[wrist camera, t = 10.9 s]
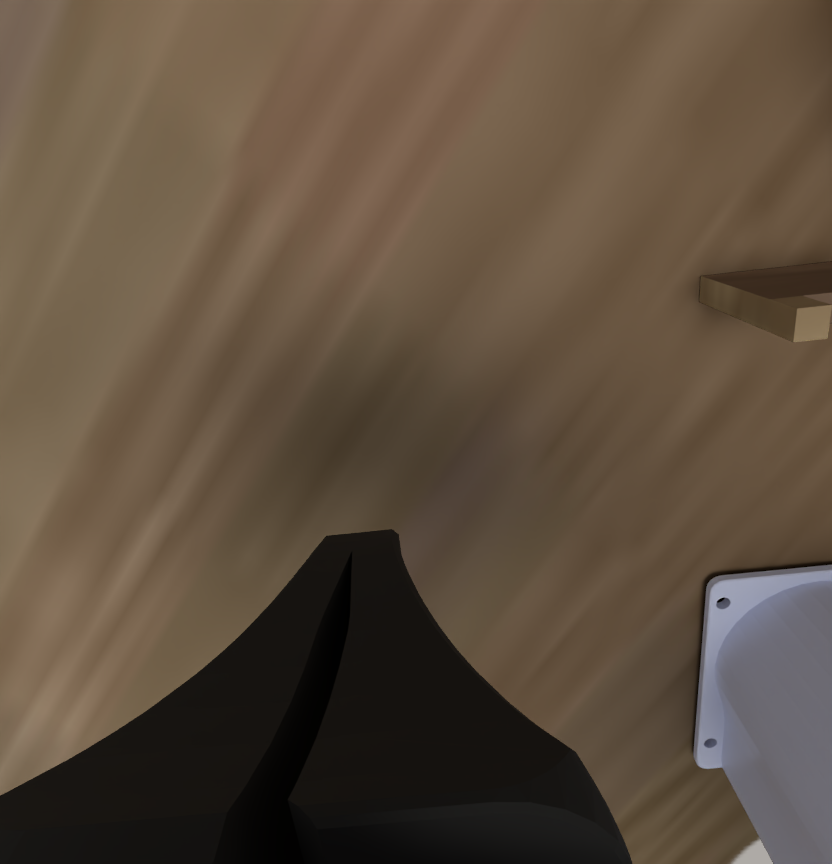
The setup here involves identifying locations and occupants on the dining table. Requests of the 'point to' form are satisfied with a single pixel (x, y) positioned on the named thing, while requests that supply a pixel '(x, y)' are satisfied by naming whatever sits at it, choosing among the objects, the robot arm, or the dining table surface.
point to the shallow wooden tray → (776, 299)
